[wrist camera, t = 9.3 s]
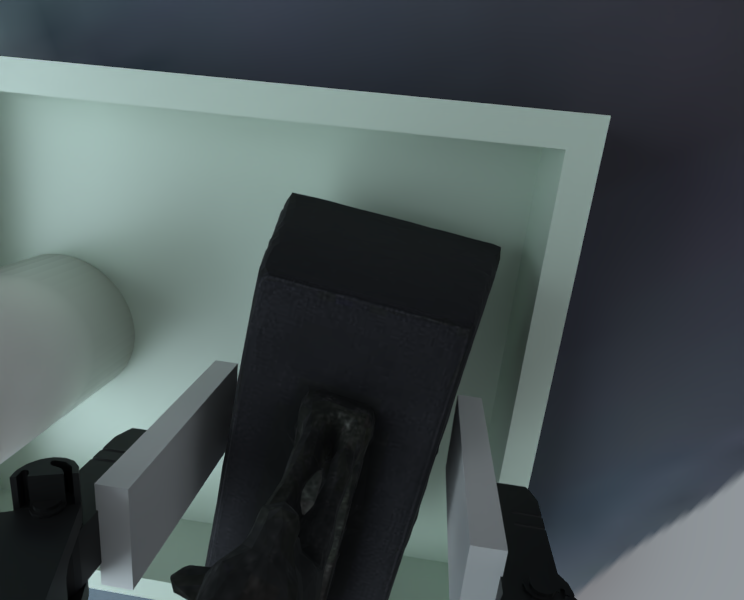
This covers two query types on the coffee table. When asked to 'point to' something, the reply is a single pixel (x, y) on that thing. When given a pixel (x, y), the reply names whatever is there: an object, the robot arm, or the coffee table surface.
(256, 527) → the sculpture
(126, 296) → the tote
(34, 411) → the jar
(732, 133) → the coffee table surface
